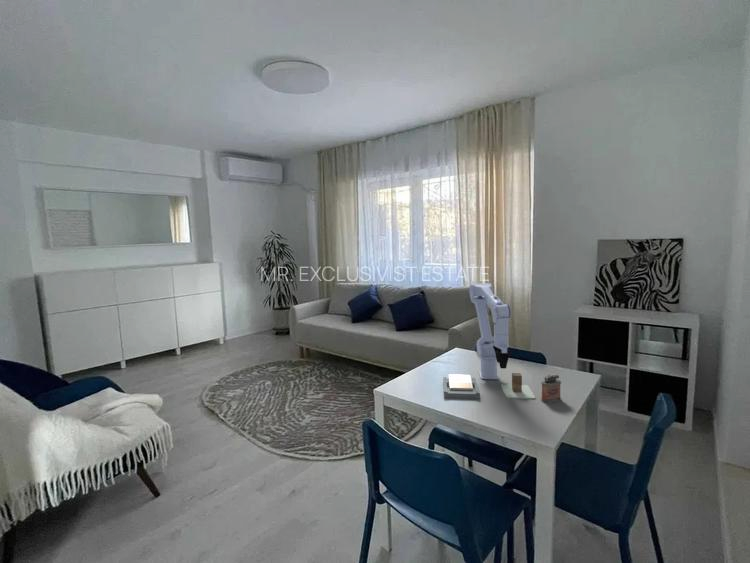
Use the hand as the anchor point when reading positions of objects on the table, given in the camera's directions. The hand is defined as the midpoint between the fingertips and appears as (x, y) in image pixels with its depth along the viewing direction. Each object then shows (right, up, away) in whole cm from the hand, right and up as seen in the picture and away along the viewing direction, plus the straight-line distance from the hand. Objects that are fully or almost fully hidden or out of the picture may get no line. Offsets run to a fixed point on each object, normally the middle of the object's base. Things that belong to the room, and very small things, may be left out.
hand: (501, 365), depth 154 cm
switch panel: (-17, -11, +1) cm, 20 cm away
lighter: (+16, -11, -11) cm, 22 cm away
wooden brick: (+6, -10, -2) cm, 12 cm away
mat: (+6, -11, -2) cm, 12 cm away
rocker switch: (-17, -7, +1) cm, 19 cm away
